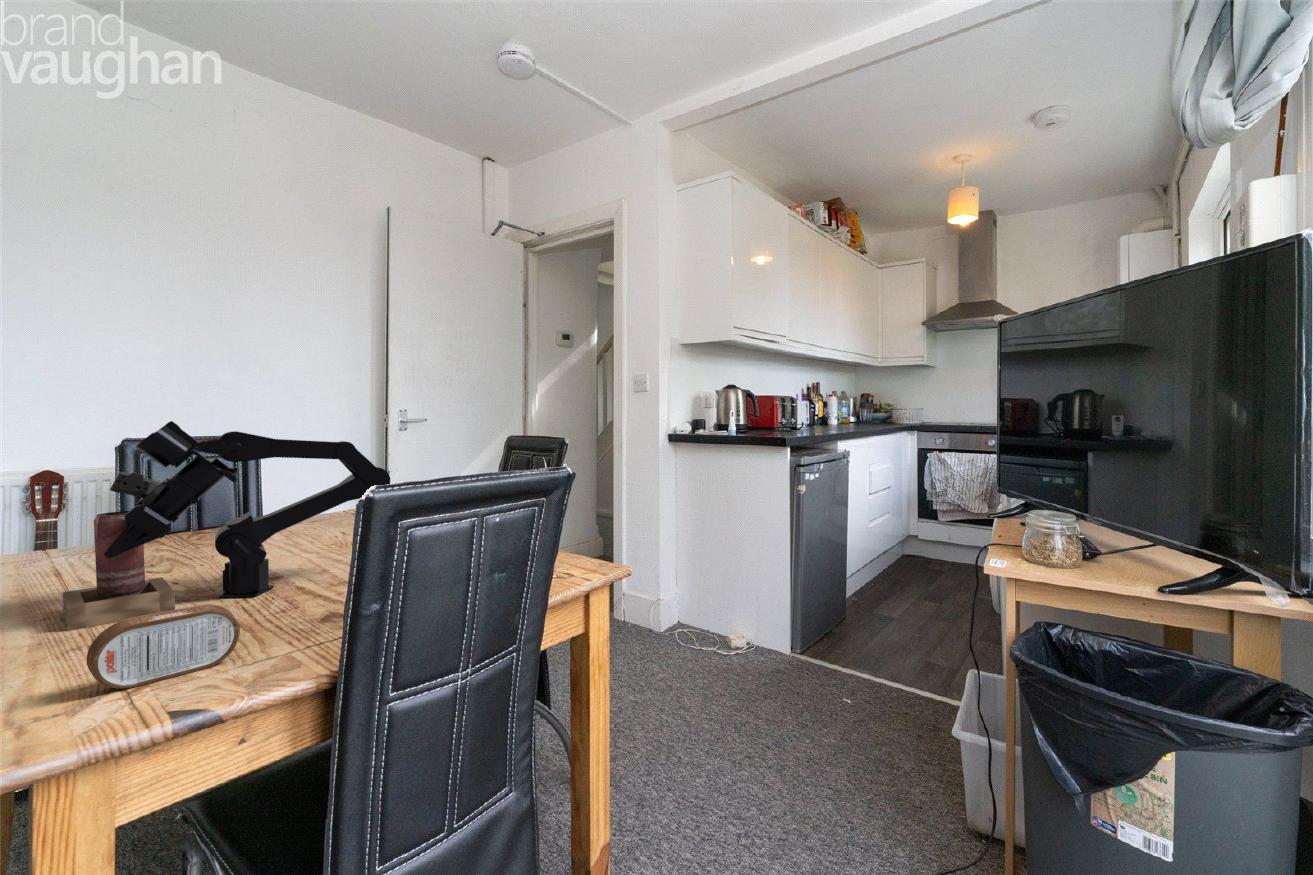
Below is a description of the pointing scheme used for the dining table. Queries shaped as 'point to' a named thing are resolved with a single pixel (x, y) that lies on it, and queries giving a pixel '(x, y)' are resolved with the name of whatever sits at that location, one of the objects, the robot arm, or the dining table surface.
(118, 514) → the can
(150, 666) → the tin
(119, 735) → the dining table surface
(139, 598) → the collar
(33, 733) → the dining table surface
